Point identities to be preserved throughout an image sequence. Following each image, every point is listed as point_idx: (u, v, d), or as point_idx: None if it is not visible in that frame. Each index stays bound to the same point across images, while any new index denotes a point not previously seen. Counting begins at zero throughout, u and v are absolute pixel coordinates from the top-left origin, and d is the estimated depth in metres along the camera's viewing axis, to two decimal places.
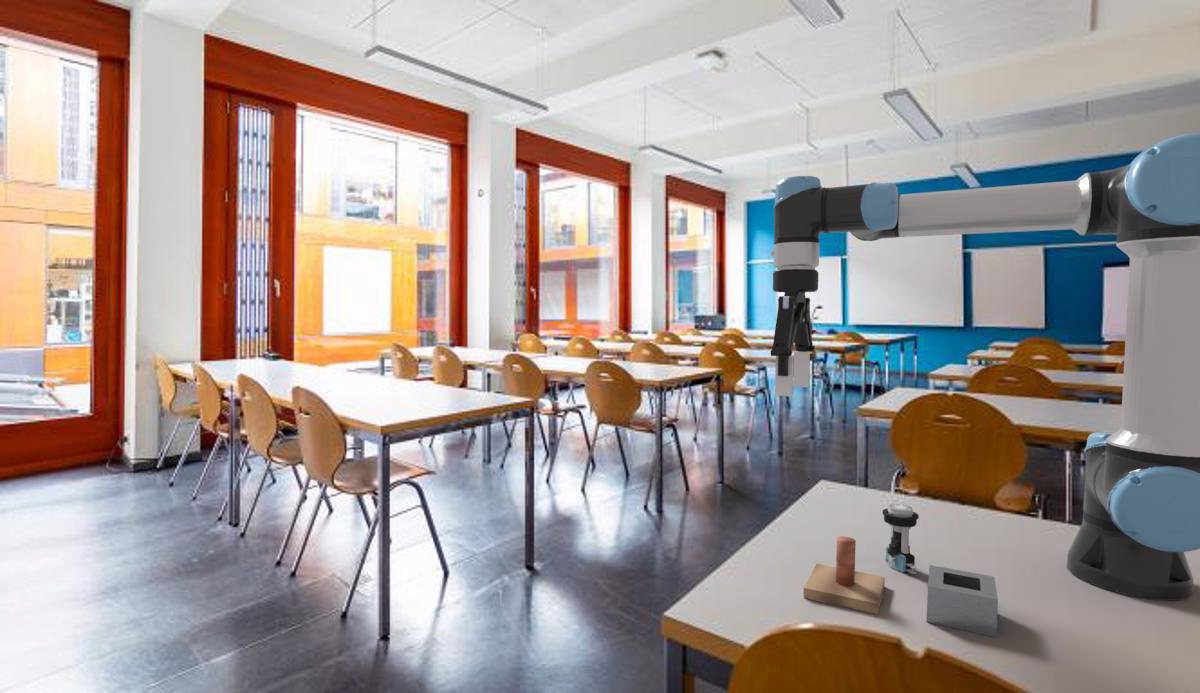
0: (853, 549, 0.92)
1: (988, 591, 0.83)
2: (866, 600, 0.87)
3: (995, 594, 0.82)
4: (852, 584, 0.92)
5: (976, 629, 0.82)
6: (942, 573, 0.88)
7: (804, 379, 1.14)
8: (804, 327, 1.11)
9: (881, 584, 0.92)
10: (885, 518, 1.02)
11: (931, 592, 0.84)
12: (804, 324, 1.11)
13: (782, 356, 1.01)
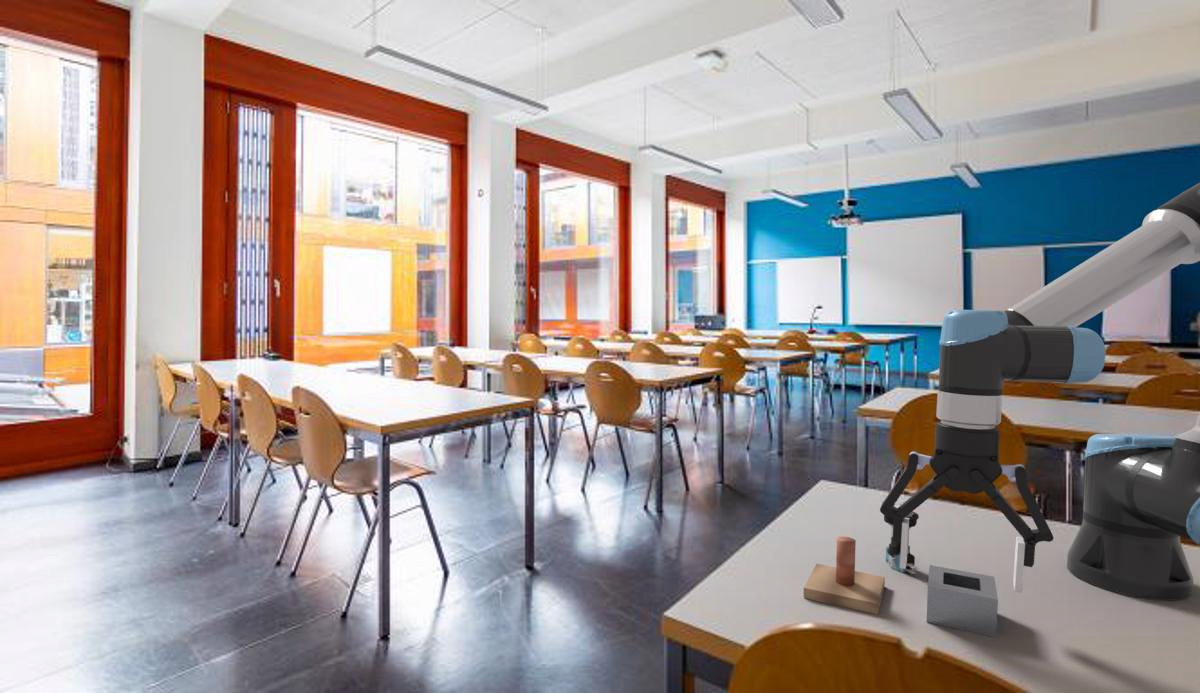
0: (853, 549, 0.92)
1: (988, 591, 0.83)
2: (866, 600, 0.87)
3: (995, 594, 0.82)
4: (852, 584, 0.92)
5: (976, 629, 0.82)
6: (942, 573, 0.88)
7: (1015, 578, 0.82)
8: (995, 503, 0.82)
9: (881, 584, 0.92)
10: (885, 518, 1.02)
11: (931, 592, 0.84)
12: (991, 499, 0.82)
13: None
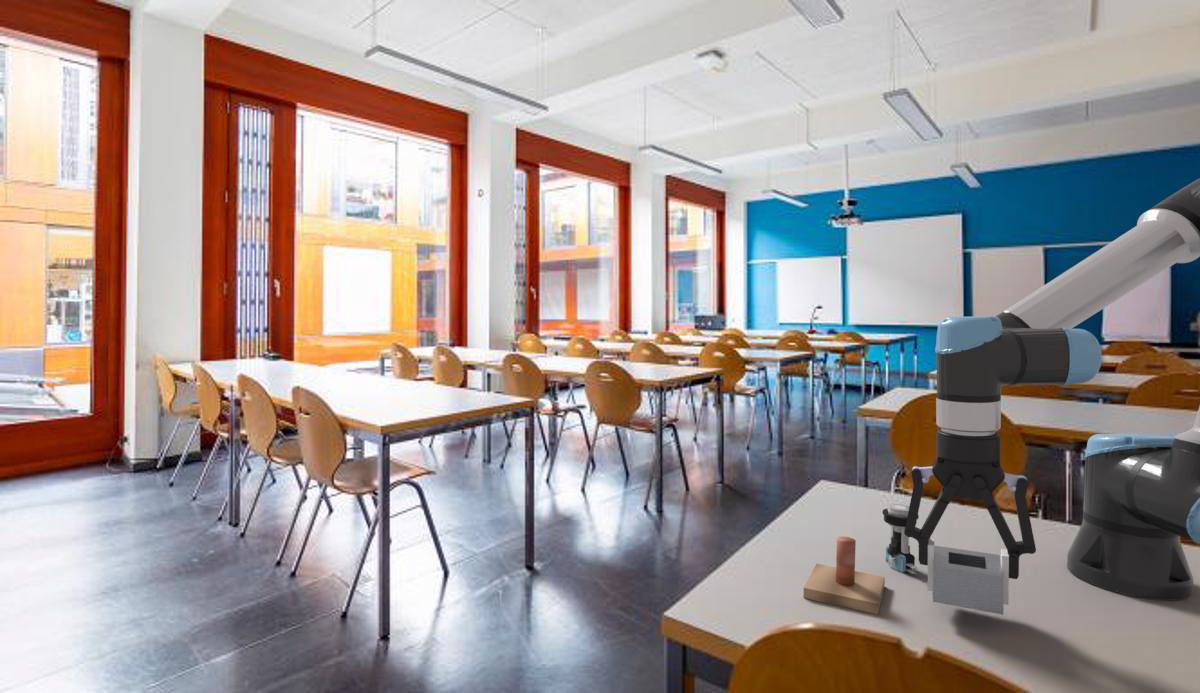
0: (853, 549, 0.92)
1: (994, 569, 0.82)
2: (866, 600, 0.87)
3: (1001, 572, 0.81)
4: (852, 584, 0.92)
5: (983, 607, 0.81)
6: (947, 553, 0.88)
7: None
8: (989, 512, 0.83)
9: (881, 584, 0.92)
10: (885, 518, 1.02)
11: (937, 572, 0.84)
12: None
13: None
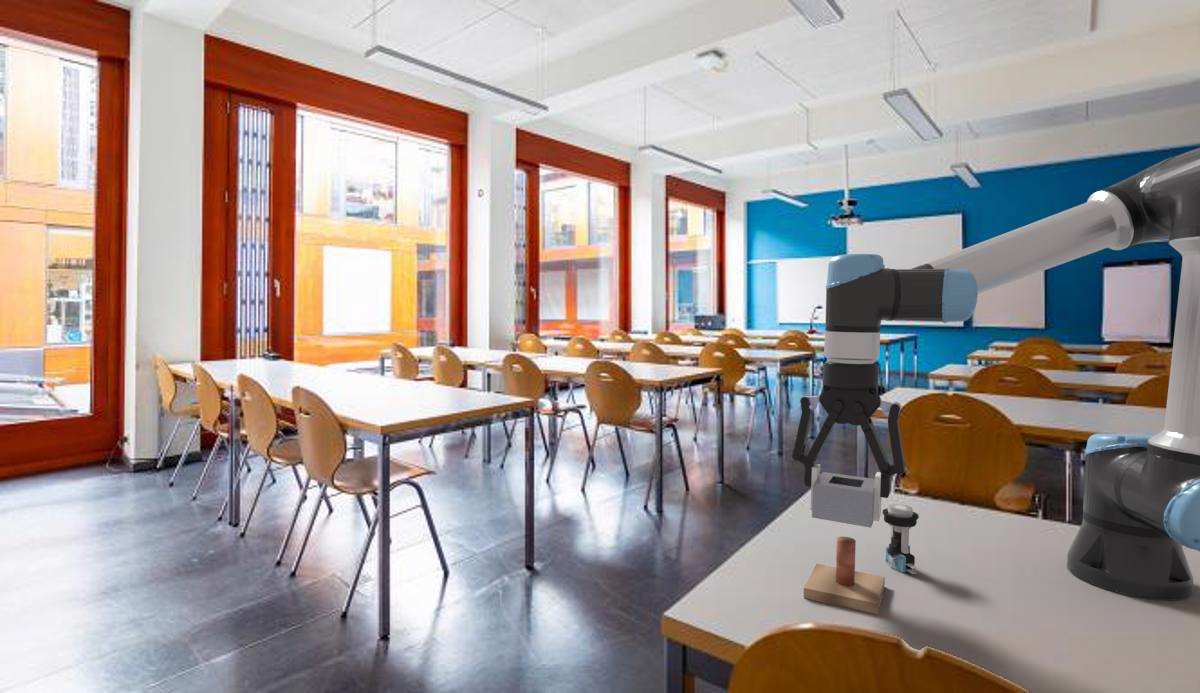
0: (853, 549, 0.92)
1: (867, 487, 0.89)
2: (866, 600, 0.87)
3: (872, 489, 0.88)
4: (852, 584, 0.92)
5: (854, 521, 0.88)
6: (831, 476, 0.95)
7: (874, 508, 0.90)
8: None
9: (881, 584, 0.92)
10: (885, 518, 1.02)
11: (816, 489, 0.91)
12: None
13: None
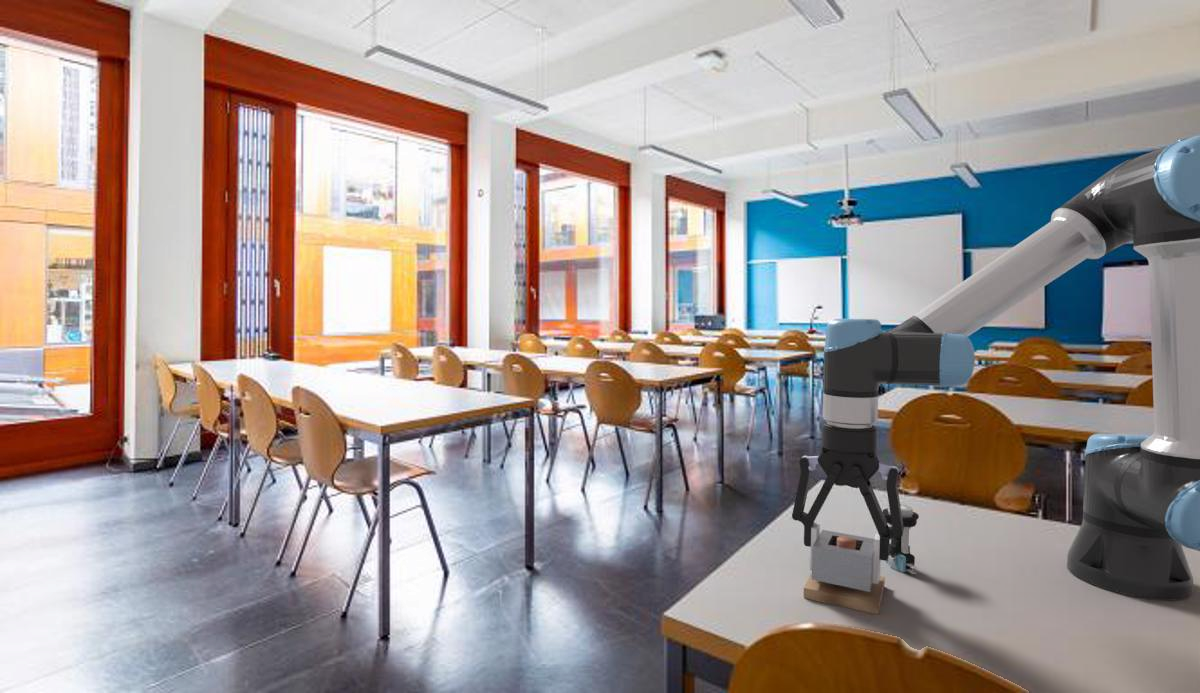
0: None
1: (866, 550, 0.90)
2: (866, 600, 0.87)
3: (871, 553, 0.89)
4: None
5: (853, 585, 0.89)
6: (830, 536, 0.95)
7: (873, 571, 0.90)
8: (864, 498, 0.90)
9: (881, 584, 0.92)
10: (885, 518, 1.02)
11: (815, 552, 0.91)
12: (862, 494, 0.90)
13: None
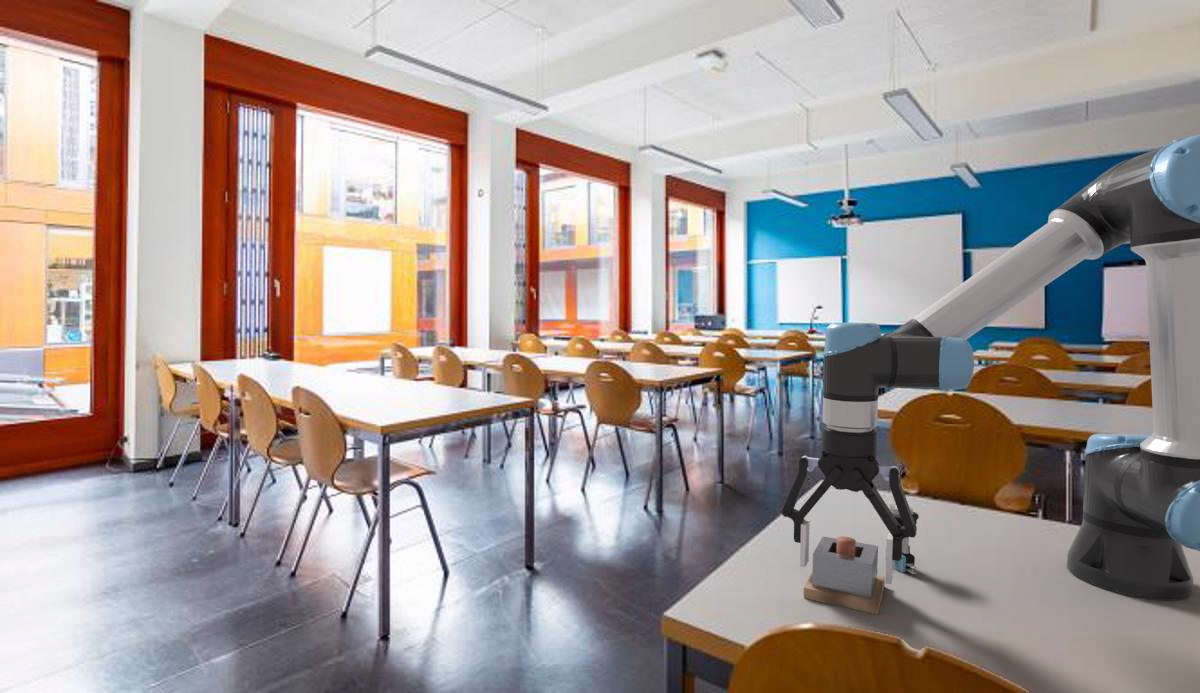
0: (853, 549, 0.92)
1: (866, 557, 0.90)
2: (866, 600, 0.87)
3: (871, 560, 0.89)
4: None
5: (854, 592, 0.89)
6: (831, 543, 0.95)
7: (886, 571, 0.90)
8: (870, 501, 0.90)
9: (881, 584, 0.92)
10: None
11: (816, 559, 0.91)
12: (867, 497, 0.90)
13: None
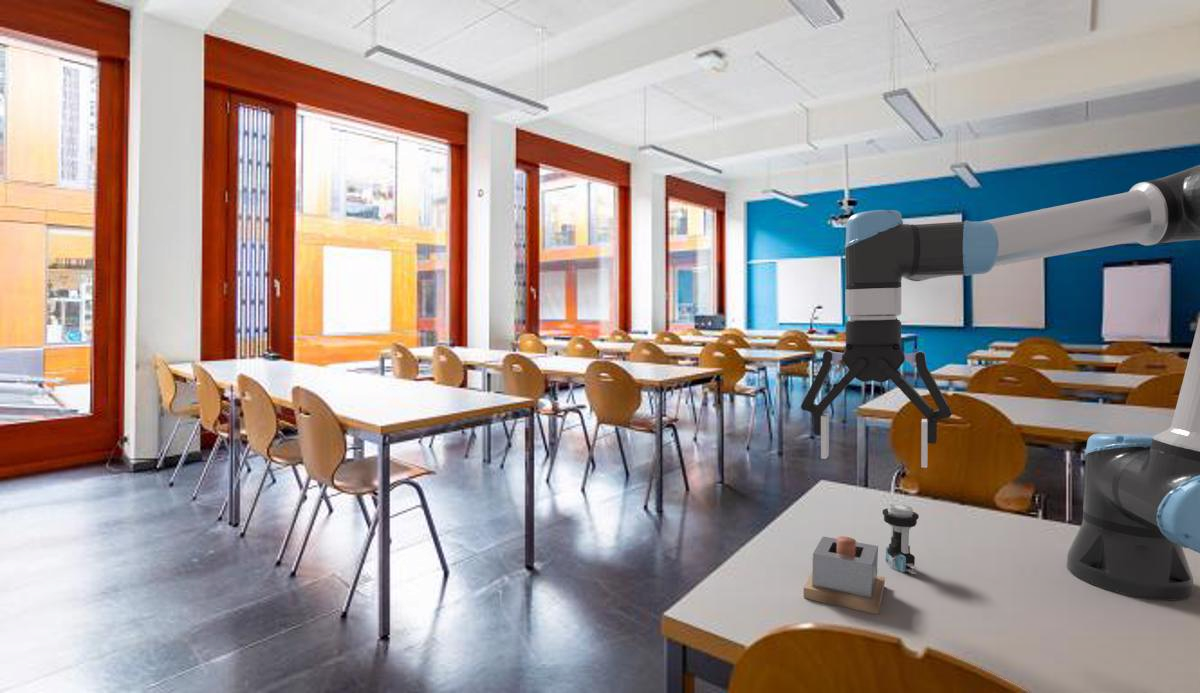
0: (853, 549, 0.92)
1: (866, 557, 0.90)
2: (866, 600, 0.87)
3: (871, 560, 0.89)
4: None
5: (854, 592, 0.89)
6: (831, 543, 0.95)
7: (921, 455, 0.89)
8: (899, 388, 0.89)
9: (881, 584, 0.92)
10: (885, 518, 1.02)
11: (816, 559, 0.91)
12: (896, 385, 0.90)
13: (813, 413, 0.96)
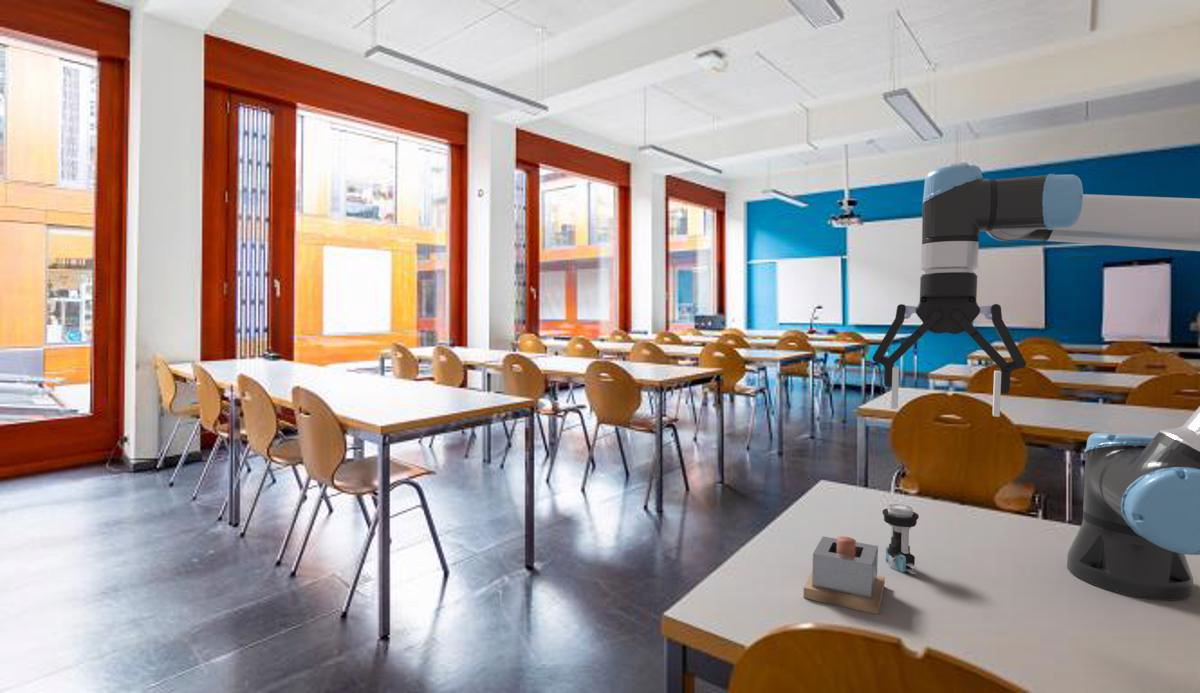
0: (853, 549, 0.92)
1: (866, 557, 0.90)
2: (866, 600, 0.87)
3: (871, 560, 0.89)
4: None
5: (854, 592, 0.89)
6: (831, 543, 0.95)
7: (993, 405, 0.92)
8: (974, 340, 0.92)
9: (881, 584, 0.92)
10: (885, 518, 1.02)
11: (816, 559, 0.91)
12: None
13: (884, 365, 0.99)
